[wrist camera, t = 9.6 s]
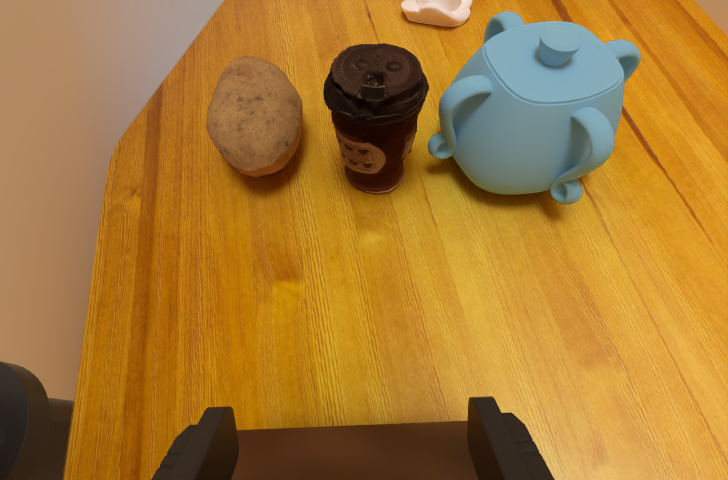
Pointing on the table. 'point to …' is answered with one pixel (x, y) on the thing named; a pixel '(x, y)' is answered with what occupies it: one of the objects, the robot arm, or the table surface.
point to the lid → (357, 453)
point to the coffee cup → (375, 111)
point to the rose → (437, 11)
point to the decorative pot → (535, 107)
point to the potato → (255, 117)
